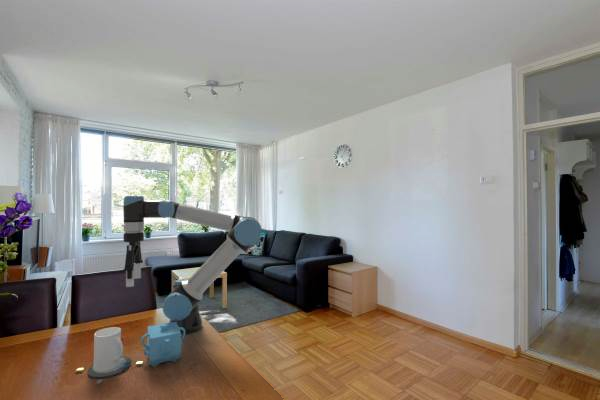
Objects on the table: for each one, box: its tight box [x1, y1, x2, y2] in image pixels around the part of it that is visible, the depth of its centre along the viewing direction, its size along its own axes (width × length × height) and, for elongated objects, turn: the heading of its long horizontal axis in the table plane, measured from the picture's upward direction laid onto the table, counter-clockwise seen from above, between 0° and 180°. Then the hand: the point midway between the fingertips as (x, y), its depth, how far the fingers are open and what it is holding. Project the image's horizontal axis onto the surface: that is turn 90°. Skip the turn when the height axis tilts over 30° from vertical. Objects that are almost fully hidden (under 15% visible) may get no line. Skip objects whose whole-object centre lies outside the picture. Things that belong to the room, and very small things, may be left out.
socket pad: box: [75, 355, 144, 386], centre depth 104 cm, size 21×17×1 cm
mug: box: [92, 326, 124, 372], centre depth 105 cm, size 12×8×12 cm
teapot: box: [140, 322, 186, 367], centre depth 111 cm, size 18×16×13 cm
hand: (133, 282), depth 125 cm, fingers open, 13 cm apart
